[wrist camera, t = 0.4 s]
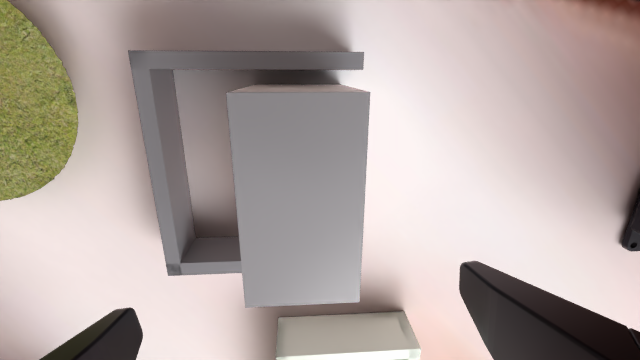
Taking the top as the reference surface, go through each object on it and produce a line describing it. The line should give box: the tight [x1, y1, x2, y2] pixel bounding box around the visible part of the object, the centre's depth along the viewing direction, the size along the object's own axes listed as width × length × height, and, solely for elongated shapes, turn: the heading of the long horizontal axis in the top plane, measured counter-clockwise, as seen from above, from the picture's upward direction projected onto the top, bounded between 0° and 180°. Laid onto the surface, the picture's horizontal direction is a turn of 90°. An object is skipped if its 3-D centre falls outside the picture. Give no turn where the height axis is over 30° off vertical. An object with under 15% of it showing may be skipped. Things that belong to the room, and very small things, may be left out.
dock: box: [128, 51, 364, 276], centre depth 18 cm, size 11×12×3 cm
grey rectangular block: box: [226, 84, 370, 308], centre depth 16 cm, size 5×9×8 cm, turn 0°
